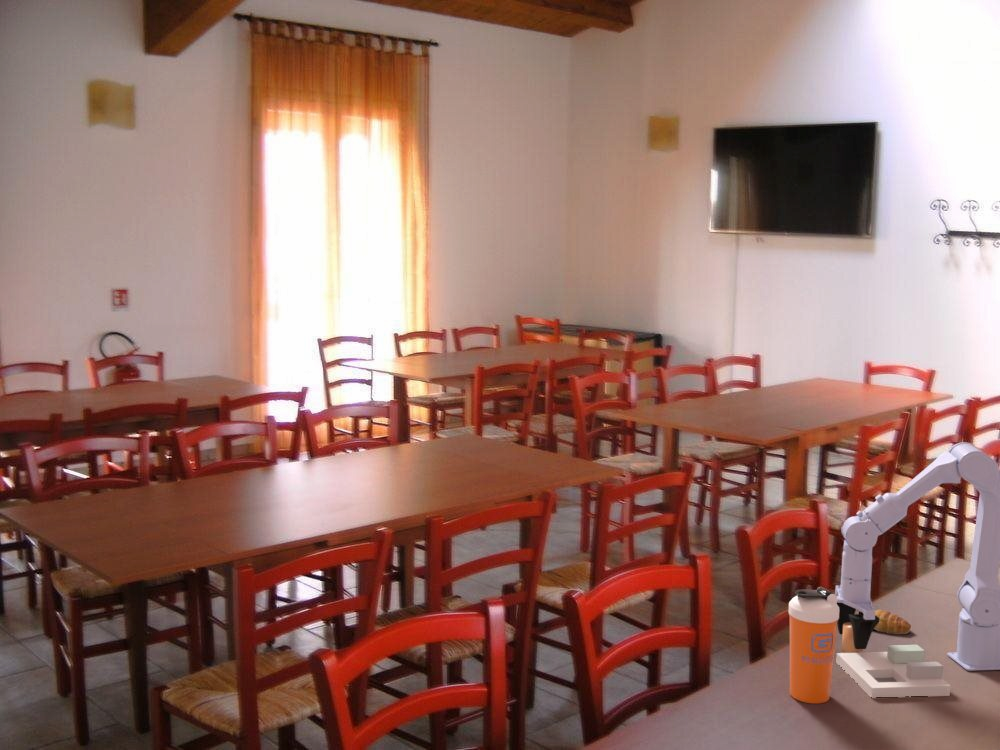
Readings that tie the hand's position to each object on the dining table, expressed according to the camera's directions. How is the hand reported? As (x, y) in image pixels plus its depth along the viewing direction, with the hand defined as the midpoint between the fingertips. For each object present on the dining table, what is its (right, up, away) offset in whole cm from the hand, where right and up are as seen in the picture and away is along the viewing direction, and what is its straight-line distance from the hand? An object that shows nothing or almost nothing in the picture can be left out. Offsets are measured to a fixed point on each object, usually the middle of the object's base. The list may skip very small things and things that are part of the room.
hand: (852, 641), depth 210 cm
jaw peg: (0, -3, 0) cm, 3 cm away
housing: (+4, -4, -11) cm, 13 cm away
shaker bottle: (-14, -5, -19) cm, 24 cm away
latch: (+8, -2, -8) cm, 11 cm away
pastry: (+12, -1, +15) cm, 19 cm away
